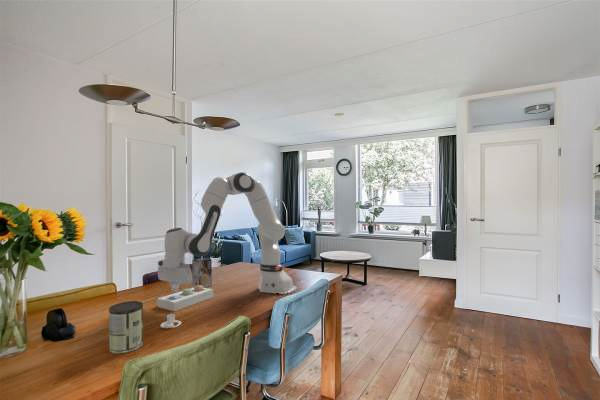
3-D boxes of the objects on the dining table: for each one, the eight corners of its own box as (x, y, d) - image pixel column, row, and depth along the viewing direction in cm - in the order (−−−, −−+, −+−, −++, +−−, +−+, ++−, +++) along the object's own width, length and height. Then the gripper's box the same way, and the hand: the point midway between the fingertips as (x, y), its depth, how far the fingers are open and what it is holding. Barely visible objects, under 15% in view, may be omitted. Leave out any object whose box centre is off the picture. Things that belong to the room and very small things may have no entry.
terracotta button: (204, 291, 162) (204, 285, 162) (198, 293, 158) (198, 287, 158) (198, 290, 164) (198, 284, 164) (192, 292, 161) (192, 286, 161)
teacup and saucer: (170, 331, 121) (170, 320, 121) (154, 328, 124) (154, 318, 124) (185, 323, 129) (185, 313, 129) (170, 320, 132) (170, 310, 132)
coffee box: (205, 284, 187) (205, 257, 187) (212, 286, 183) (212, 258, 183) (192, 287, 180) (192, 259, 180) (198, 289, 176) (198, 261, 176)
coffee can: (119, 339, 112) (119, 301, 112) (148, 339, 113) (148, 300, 113) (102, 354, 102) (102, 311, 102) (133, 353, 103) (134, 310, 103)
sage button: (193, 295, 156) (193, 289, 156) (186, 297, 152) (186, 291, 152) (187, 294, 158) (187, 288, 158) (180, 296, 154) (180, 290, 154)
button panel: (197, 293, 168) (197, 286, 168) (213, 297, 162) (213, 289, 162) (157, 306, 147) (157, 298, 147) (174, 311, 141) (174, 302, 141)
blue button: (180, 302, 149) (180, 296, 149) (173, 305, 145) (173, 298, 145) (174, 301, 151) (174, 295, 151) (167, 303, 147) (167, 297, 147)
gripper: (195, 263, 146) (195, 292, 146) (166, 259, 156) (166, 286, 156) (184, 265, 140) (184, 296, 140) (155, 261, 150) (155, 290, 150)
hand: (175, 291), depth 148 cm, fingers closed
